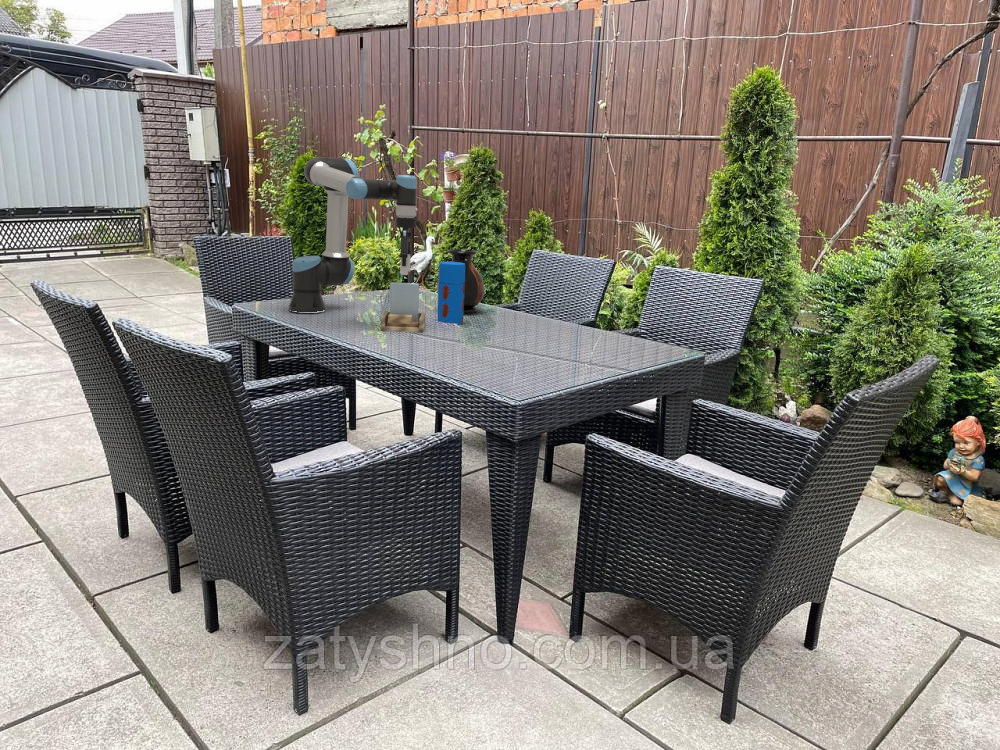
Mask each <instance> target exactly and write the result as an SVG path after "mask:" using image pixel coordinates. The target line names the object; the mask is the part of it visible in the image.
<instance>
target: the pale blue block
mask: <svg viewBox="0 0 1000 750" xmlns="http://www.w3.org/2000/svg"><path fill="white" fill-rule="evenodd" d="M419 304H420V283H414V282H413V283H412V282H394V281H393V282H389V311H390V314H406V315H413V320H412V322H418V313H420V312H419V308H420V306H419Z"/></svg>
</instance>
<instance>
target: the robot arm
mask: <svg viewBox="0 0 1000 750" xmlns="http://www.w3.org/2000/svg"><path fill="white" fill-rule="evenodd" d="M303 168H304V170H303V174H304V177H305V179H306V180H307V182H309V184H311V185H314V186H318V187H323V189H324V191H325V193H327V207H326V208H327V209H326V211H327V212H326V231H325V232H326V233H325V235H326V238H325V239H326V240H325V250H324V251H323V252H322V253H321V257H320V256H319V255H304V256H299V257H297V258H294V259H293V261H292V269H291V270H292V295H291V299H290V302H289V306H288V311H289V310H291V311H297V312H317V311H323V310H325V311H326V305H325V302H324V298H323V297H322V290H321V289H322V287H328V286H329V287H330V286H342V285H343V286H344V285H347V284H349V283H350V282H351V281H352V279H354V275H355V265H354V261H353V260H352V259H350V255H349V253H347V237H348V236H347V233H348V217H349V215H348V212H349V198H350V199H354V200H375V201H376V200H377V201H378V200H379V201H396V205H395V206H396V207H395V208H396V209H395V215H396V218H395V219H396V220H395V224H396V225H395V226H396V227H397V228H400V229H401V228H402V230H401V232H400V254H398V258H400V274H399V275H401V276H408V275H409V274H408V273H409V272H411V255H413V252H412V250H411V242H412V232H411V229H415V228H417V219H416V216H417V212H418V211H419V210H418V208H417V193H418V192H417V191H418V190H417V188H418V186H417V177H416V176H415V175H406V174H405V175H404V174H399V175H397V176H396V179H395V180H393V179H378V178H377V179H373V178H372V179H371V178H364V177H361V176H360V175H359V171H358V167H357V165H356V163H355V162H354V161H353V160H351V159H349V158H343V157H328V156H327V157H326V156H316V157H312V158H311V159H309V160H308V161H307V162H306V163H305V165H304V167H303Z"/></svg>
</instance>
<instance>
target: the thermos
mask: <svg viewBox="0 0 1000 750" xmlns="http://www.w3.org/2000/svg"><path fill="white" fill-rule="evenodd" d="M438 281H439V283H438V282H437V285H438V293H437V321H438V322H440V323H445V324H457V326H461V325H463V323H464V315H465V314H464V291H465V263H460V262H452V261H441V262H439V265H438Z"/></svg>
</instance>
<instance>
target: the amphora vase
mask: <svg viewBox="0 0 1000 750" xmlns="http://www.w3.org/2000/svg"><path fill="white" fill-rule="evenodd" d="M447 253H448V254H450V255H451V258H452V259H451V262H460V263H465V291H464V315H473V314H476V313H477V312H478V311H479V308H478V307H477V306H478V305H479V304H480V303H481V301H482V300H483V299H484V296H485V284H484V283H485V282H484V280H483V277H482V276H483V275H482V274H481V272H479V270H478V269H477V268H476V267H475V265H474V263H473V261H472V259H473V256H474V255H476V254H477V251H476V250H474V249H473V250H472V249H464V248H462V249H461V248H452V249H451V248H450V249H448V250H447ZM438 283H439V280H438V281H437V286H436V292H437V294H438Z"/></svg>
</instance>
